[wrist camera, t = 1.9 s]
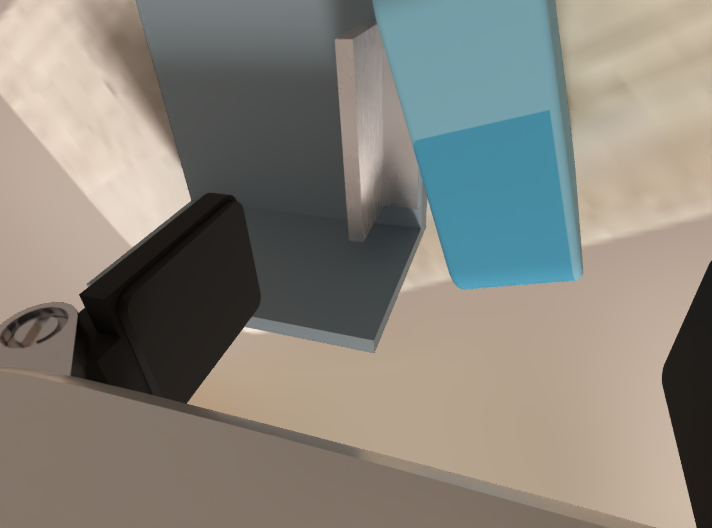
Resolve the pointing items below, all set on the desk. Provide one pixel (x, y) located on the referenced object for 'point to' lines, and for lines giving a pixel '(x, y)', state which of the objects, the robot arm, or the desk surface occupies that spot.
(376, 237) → the l-shaped stand
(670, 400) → the robot arm
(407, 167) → the bookend
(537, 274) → the data package
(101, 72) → the desk surface
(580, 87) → the desk surface
